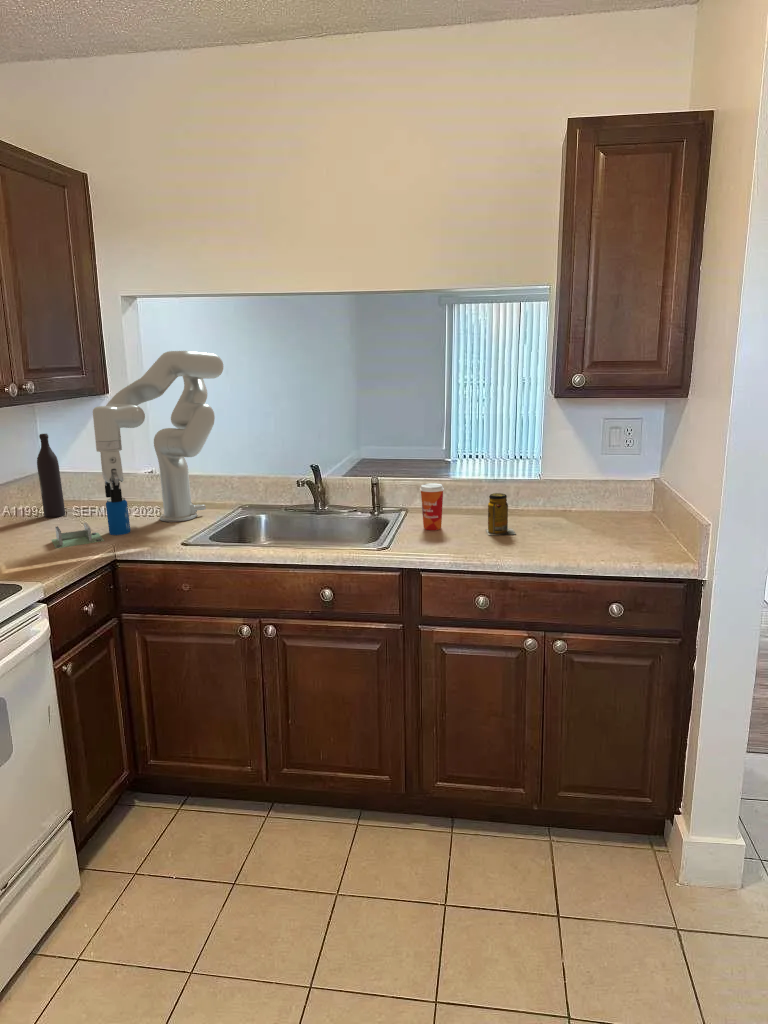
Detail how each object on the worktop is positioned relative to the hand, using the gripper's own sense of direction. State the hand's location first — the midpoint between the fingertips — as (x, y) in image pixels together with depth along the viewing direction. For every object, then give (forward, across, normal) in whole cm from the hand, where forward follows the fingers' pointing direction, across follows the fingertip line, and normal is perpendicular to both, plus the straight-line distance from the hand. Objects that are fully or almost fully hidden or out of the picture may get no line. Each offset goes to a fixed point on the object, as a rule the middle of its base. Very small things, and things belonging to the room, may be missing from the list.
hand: (113, 499), depth 227 cm
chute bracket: (+11, -2, +13) cm, 17 cm away
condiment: (+11, -69, -101) cm, 123 cm away
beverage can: (+12, 0, -1) cm, 12 cm away
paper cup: (+11, -52, -87) cm, 102 cm away
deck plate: (+12, -2, +12) cm, 17 cm away
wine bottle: (+12, +44, +14) cm, 48 cm away
